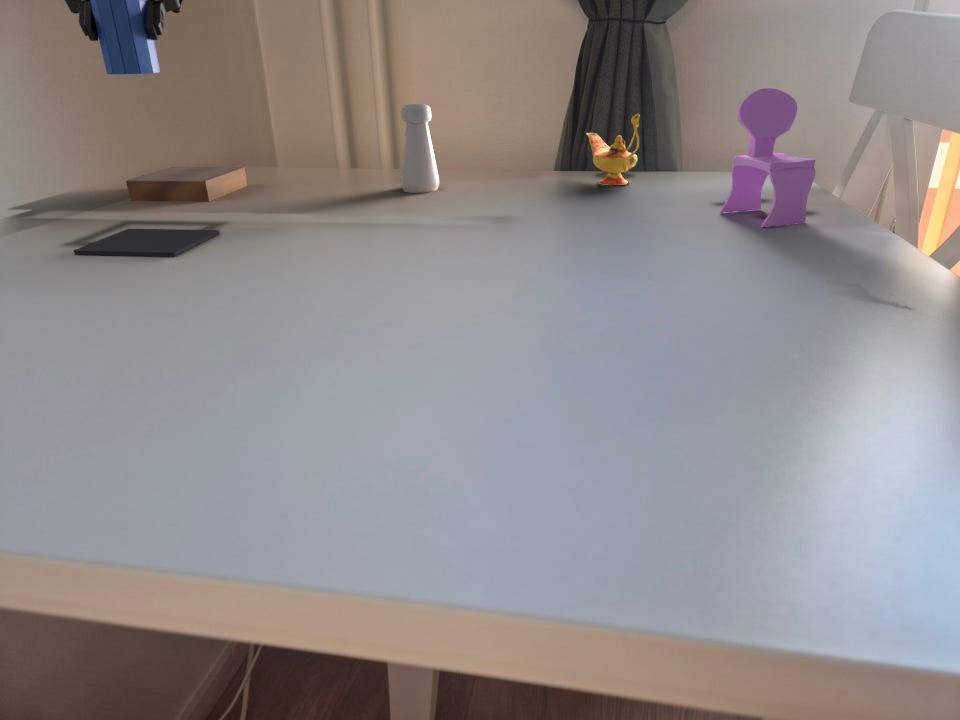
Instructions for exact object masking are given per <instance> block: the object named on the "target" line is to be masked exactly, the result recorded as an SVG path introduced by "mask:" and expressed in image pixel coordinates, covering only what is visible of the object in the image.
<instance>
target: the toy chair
mask: <svg viewBox="0 0 960 720" xmlns="http://www.w3.org/2000/svg"><path fill="white" fill-rule="evenodd" d="M797 112H798V103H797V101H796V99H795V98H794V97H793V96H792V95H790V94H789V93H787V92H785V91H783V90H781V89H777V88H772V87H771V88H769V87H767V88H766V87H765V88H760V89H757V90H754V91H752V92H751V93H749V95H747V96H746V98H744V100H743V101H742V102H741V104H740V106H739V108H738V111H737V120H738V122H739V124H740V126H742V128H743V129H744V130H746V132H747V133H748V134H749V144H748V145H749V146H748V155H747V154H746V155H745V154H743V155H734V161H733V164H732V165H731V168H730V169H731V170H730V173H731V187H730V192H729V194H728V197H727V198H726V200H725V202H724V204H723V206H722V207H721V209H720V210H719V212H720V213H723V212H733V211H745V212H748V211H747V210H755V211H758V210H757V209H762V191H763V186H764V184H765V182H766V179H767V178H768V176H769V179H770V182H771V186H772V189H773V194H774V196H773V197H774V199H773V203H772V207H771V209H770V210H769V213H768V214H767V216H766V218H765V220H764V221H763V222H762V224H761V226H760V228H762V227H766V228H770V227H769V226H775V227H778V226H777V225H784V226H788V225H787V224H792V225H796V224H795V223H801V224H805V223H806V217H807V215H806V214H807V202H808V198H809V194H810V191H811V188H812V185H813V183H814V180H815V177H816V172H817V171H816V168H815V164H816V159H814V158H809V157H798V156H793V155H789V154H786V153H781V152H774V149H775V143H776V140H777V139H778V138H779V137H781V136H782V135H784V134H785V133H787V132H788V131H790V130H791V128H792V125H793V124H794V121H795V119H796V116H797V114H798V113H797ZM720 213H719V214H720ZM804 222H805V223H804Z"/></svg>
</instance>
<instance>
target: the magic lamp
mask: <svg viewBox="0 0 960 720" xmlns="http://www.w3.org/2000/svg"><path fill="white" fill-rule="evenodd" d="M640 119H641V115H640V114H639V112H638V113H636V114H634V115H633V116H632V117H631V119H630V120H631V121H630V122H631V124H632V127H633V135H632V137H631V140H630V142H629V145H628V146H627V148H626V141H625V139H624V138H622V135H620V134H619V135H617V136H616V138H615V139H614V142H613V144H612V143H611V144H610V146H609V145H608V144H607V143H606V142H605V141H604V140H603V139H602V138H601V137H600V135H598V134H597V133H595V132H585V134H586V136H587V138H588V141H589V145H590V148H591V153H592V162H593V164H594V166H596V168H597V169H599V170H601V171H603V172H605V173H607V174H606V176H605V177H603V178H602V179H601V180H599V181H598V182H599V183H601V184H608V185H621V184H627V183H628V182H629V181H628V180H626V179H625V178H624V177H623V176H622V173H629V172H630V170H631V169H632V168H634V167H635V166H636V165H637V162H638V155H637V154H635V153H637V152H638V149H639V147H640V136H639V131H638V127H639V126H640V122H639V120H640ZM635 138H636V147H635V149H634V150H633V151H632V152H630V151H629V150H630V149H631V147H632V144H633V142H634V140H635Z"/></svg>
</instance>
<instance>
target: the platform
mask: <svg viewBox="0 0 960 720" xmlns="http://www.w3.org/2000/svg"><path fill="white" fill-rule="evenodd" d="M245 169H246V168H245V167H244V166H170V167H167V168H164V169H160V170H157V171H154V172H150V173H147V174H144V175H140V176H137V177H134V178H129V179H128V180H125V183H126V187H127V188H126V189H127V192H128V197H129V201H130V202H199V203H201V202H202V203H203V202H204V203H205V202H206V203H210V202H212V201H215V200H217V199H219V198H221V197H224V196H226V195H228V194H232V193H234V192H236V191H238V190H241V189H243V188H246V187H247V186H248V183H247V176H246V170H245Z"/></svg>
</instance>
